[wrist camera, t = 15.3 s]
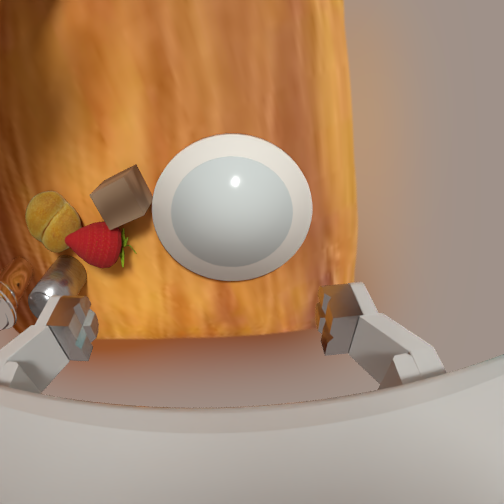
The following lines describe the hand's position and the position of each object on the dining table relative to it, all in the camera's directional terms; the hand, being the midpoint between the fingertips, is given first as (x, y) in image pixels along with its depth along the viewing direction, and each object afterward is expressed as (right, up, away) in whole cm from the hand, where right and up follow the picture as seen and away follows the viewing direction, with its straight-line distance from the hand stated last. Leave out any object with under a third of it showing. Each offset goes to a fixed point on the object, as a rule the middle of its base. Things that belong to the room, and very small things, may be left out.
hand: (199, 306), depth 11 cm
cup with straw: (-36, -1, +33) cm, 49 cm away
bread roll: (-29, +7, +28) cm, 41 cm away
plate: (-1, +7, +30) cm, 30 cm away
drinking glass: (-26, -1, +33) cm, 42 cm away
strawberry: (-22, +3, +24) cm, 32 cm away
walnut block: (-14, +10, +27) cm, 32 cm away
